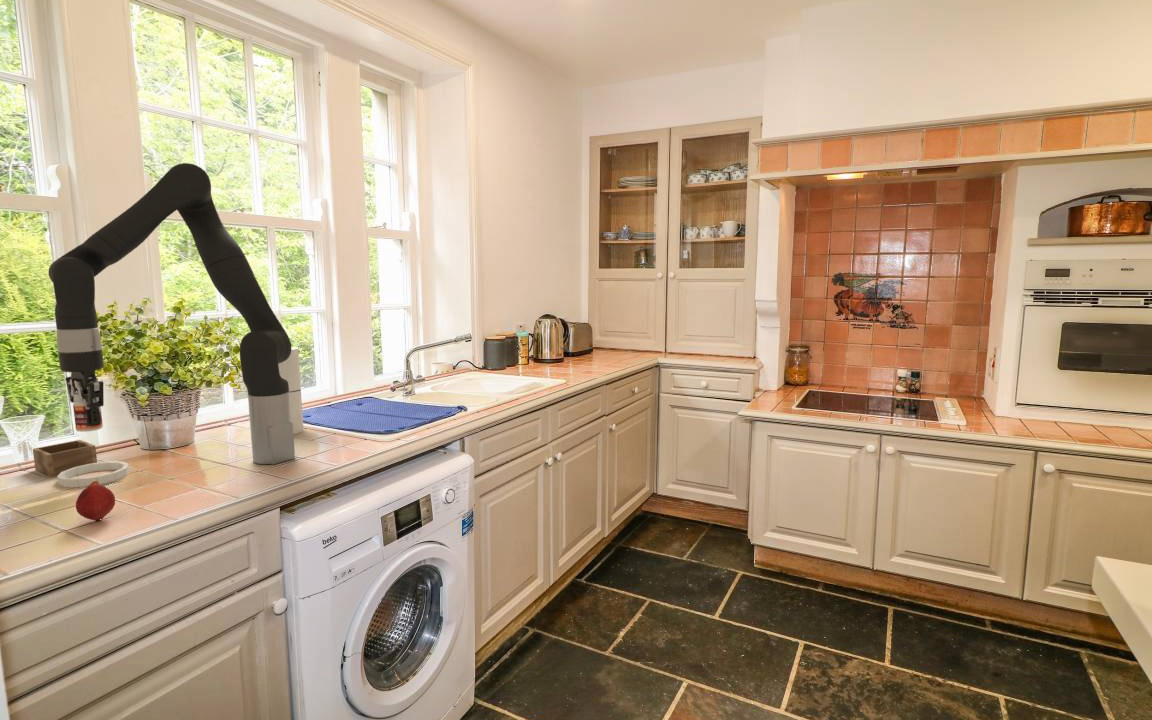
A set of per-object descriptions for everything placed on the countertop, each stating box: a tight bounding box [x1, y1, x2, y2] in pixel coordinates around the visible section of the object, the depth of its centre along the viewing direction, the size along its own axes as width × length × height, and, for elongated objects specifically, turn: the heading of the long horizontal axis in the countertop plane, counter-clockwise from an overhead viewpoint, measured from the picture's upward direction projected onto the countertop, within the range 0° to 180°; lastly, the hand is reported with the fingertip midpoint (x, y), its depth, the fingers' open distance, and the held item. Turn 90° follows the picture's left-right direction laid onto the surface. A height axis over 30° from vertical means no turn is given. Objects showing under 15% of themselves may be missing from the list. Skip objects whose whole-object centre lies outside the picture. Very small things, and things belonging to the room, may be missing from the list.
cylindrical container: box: [278, 346, 304, 435], centre depth 175 cm, size 7×7×25 cm
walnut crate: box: [32, 439, 98, 478], centre depth 141 cm, size 9×9×6 cm
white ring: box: [56, 460, 131, 488], centre depth 135 cm, size 12×12×2 cm
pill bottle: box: [72, 393, 104, 433], centre depth 133 cm, size 5×5×8 cm
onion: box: [75, 480, 116, 521], centre depth 113 cm, size 6×6×8 cm
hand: (89, 423), depth 133 cm, fingers closed on pill bottle, 4 cm apart
